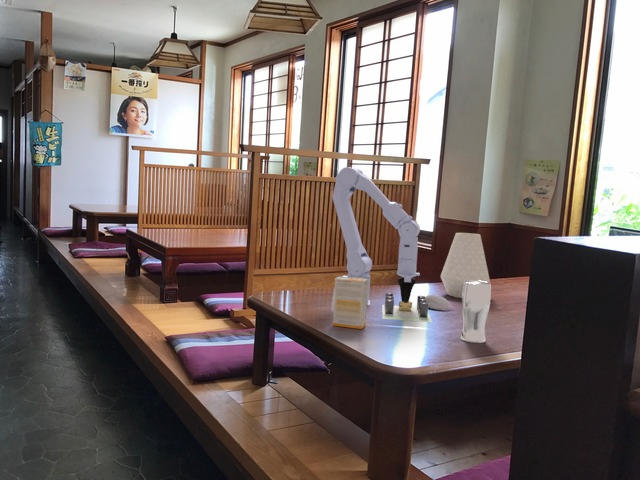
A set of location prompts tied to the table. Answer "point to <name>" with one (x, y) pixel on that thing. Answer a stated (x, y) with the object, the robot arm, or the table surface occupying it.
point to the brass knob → (405, 306)
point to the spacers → (421, 305)
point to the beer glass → (475, 310)
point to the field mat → (405, 315)
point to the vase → (464, 263)
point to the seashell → (438, 303)
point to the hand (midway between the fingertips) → (405, 301)
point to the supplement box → (350, 302)
